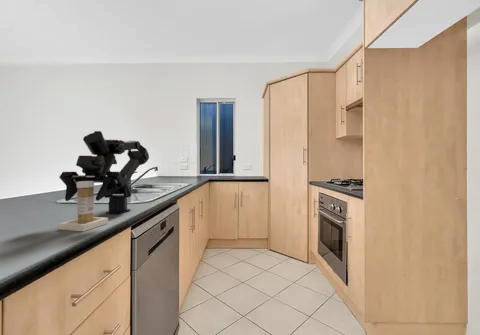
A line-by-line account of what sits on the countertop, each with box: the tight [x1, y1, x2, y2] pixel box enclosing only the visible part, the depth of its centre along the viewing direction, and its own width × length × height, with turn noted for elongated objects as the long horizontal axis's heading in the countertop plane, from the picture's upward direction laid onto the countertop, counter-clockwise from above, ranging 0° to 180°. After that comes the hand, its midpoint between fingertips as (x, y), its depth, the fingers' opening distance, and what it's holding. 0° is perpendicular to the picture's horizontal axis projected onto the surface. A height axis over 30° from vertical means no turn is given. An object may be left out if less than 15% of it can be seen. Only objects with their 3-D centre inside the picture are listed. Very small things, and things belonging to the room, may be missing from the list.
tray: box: [58, 216, 109, 232], centre depth 70 cm, size 9×9×2 cm
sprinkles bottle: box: [76, 181, 95, 224], centre depth 70 cm, size 5×5×14 cm
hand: (81, 200), depth 68 cm, fingers open, 9 cm apart
